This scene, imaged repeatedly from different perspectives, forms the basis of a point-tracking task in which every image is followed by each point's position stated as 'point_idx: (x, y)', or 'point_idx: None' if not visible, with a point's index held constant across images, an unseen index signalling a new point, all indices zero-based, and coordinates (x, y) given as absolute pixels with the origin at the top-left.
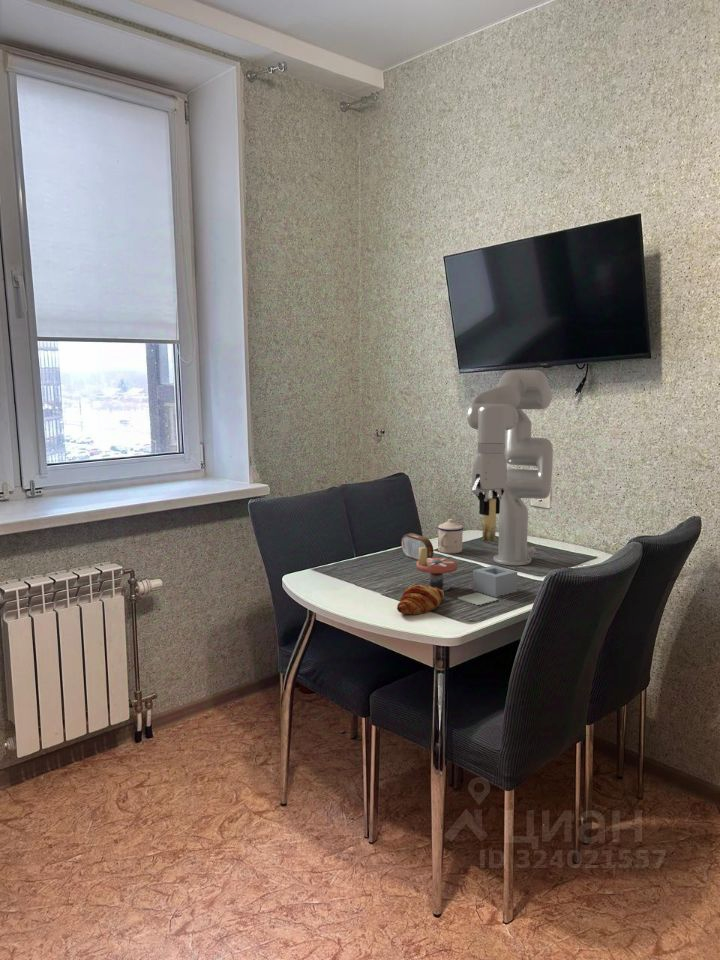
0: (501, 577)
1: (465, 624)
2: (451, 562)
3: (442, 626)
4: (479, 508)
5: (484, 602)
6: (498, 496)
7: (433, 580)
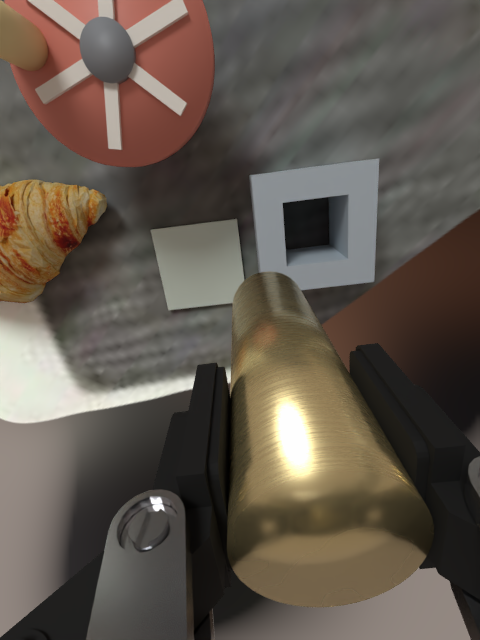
0: None
1: (72, 388)
2: (170, 106)
3: (16, 376)
4: (191, 396)
5: (195, 304)
6: (463, 617)
7: None
